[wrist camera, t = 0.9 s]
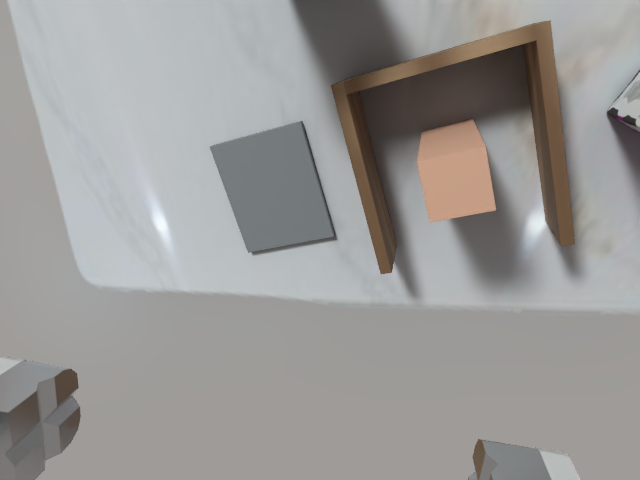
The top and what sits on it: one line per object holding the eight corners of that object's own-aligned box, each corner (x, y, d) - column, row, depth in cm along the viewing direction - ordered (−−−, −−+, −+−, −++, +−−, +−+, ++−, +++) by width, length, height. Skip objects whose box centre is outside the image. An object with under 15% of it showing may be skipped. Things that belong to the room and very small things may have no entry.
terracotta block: (472, 118, 41) (485, 146, 30) (481, 167, 42) (496, 210, 32) (421, 131, 42) (416, 162, 32) (431, 178, 44) (429, 222, 33)
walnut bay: (533, 23, 37) (550, 20, 32) (557, 218, 42) (574, 244, 37) (344, 79, 42) (330, 85, 37) (387, 247, 47) (380, 274, 42)
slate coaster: (301, 120, 44) (300, 121, 44) (335, 234, 48) (333, 236, 48) (212, 145, 47) (209, 146, 47) (250, 250, 51) (248, 252, 51)
